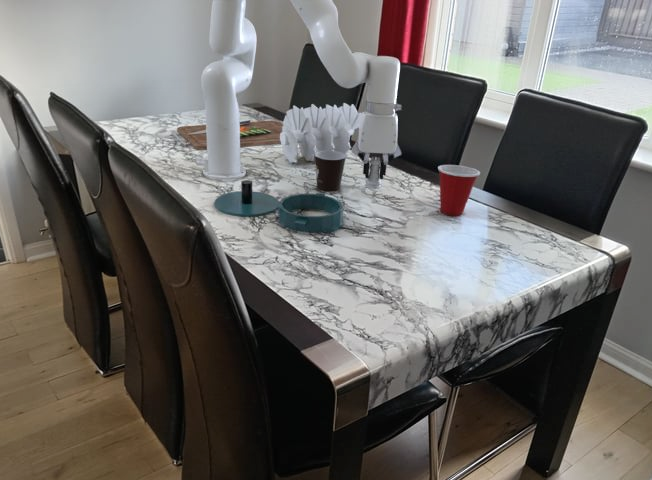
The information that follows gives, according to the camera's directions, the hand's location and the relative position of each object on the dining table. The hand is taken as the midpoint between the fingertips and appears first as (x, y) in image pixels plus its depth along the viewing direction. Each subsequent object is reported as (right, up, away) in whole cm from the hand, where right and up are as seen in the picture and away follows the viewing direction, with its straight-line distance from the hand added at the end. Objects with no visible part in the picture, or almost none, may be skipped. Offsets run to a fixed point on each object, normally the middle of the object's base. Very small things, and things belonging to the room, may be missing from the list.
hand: (373, 176), depth 157 cm
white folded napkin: (-16, +12, +32) cm, 38 cm away
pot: (-17, -14, -14) cm, 26 cm away
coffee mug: (-12, -2, +9) cm, 15 cm away
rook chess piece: (0, -3, +2) cm, 3 cm away
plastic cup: (+21, -10, -2) cm, 23 cm away
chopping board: (-44, +25, +52) cm, 73 cm away
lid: (-34, -9, -7) cm, 35 cm away
